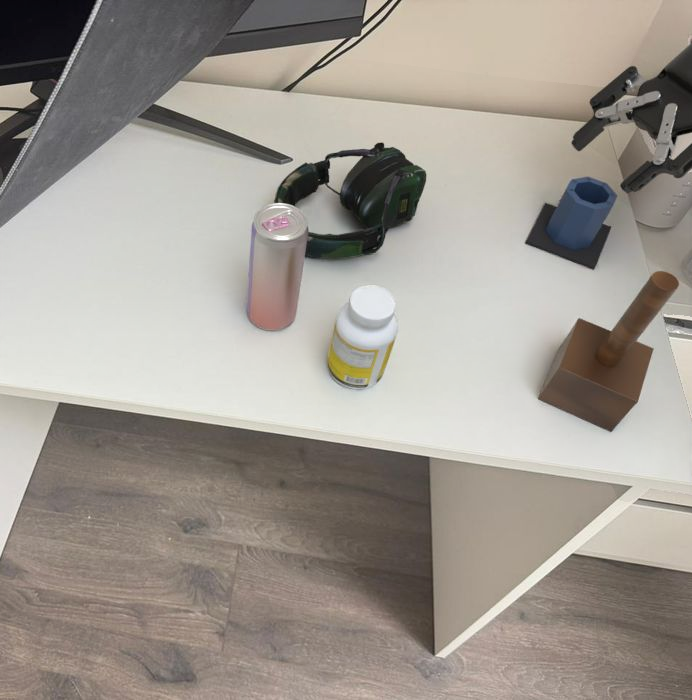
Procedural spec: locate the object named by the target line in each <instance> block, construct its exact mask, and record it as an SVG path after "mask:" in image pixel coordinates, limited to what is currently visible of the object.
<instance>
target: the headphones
mask: <svg viewBox="0 0 692 700" xmlns="http://www.w3.org/2000/svg"><path fill="white" fill-rule="evenodd" d="M346 157H361V158H360V159H359V160H358V161H357V162H356V163H355V164H354V166H353V167H352V168H351V169H350V170H349V172H348V173H347V175H346V176H345V178H344V180H343V181H342V184H341V188H340V191H337V190H336V189H334V188H333V187H331V186H330V185H329V183H330V169H331V161H330V160H331V159H336V158H346ZM426 171H427V170H425V169H423V168H422V167H421V166H419V165H417V164H414V163H413V162H412V161H410V160H409V159H407V157H406V155H405V154H404V152H402V150H400V149H398V148H396V147H394V146H390V147H385V143H384V142H376V143H375V144H374V147H372V148H369V149H367V148H357V149H345V150H339V151H337V152H332V153H328V154H326V155H325V157H324V160H320V161H317V162H314V163H313V162H309V163H308V162H307V161H305V162H304V163H302V164H301V165H299V166H298V167H296V168H295V169H294V170H292V171H291V172H289V173H288V175H286V176H285V177H284V178H283V179H282V181H281V182H280V184H279V185H278V187H277V189H276V192H275V196H274V202H273V204H274V203H285V204H289V205H293V206H295V207H297V206H296V205H297V203H299V202H300V201H301V200H303V199H306V198H307V197H309V196H311V195H312V194H314V193H316V192H317V191H318V190H319V186H322V185H325V186H326V188H327V189H329V190H330V191H332V193H334V194H336V195H338V196H339V203H340V204H341V206H342V208H344V209H345V210H347V211H348V212H351V213H352V214H354V215H355V216H356V217H357V219H358V221H359V222H360V224H361V225H362V226H363V227H364V228H365V229H364V228H360V229H358V230H356V231H351V232H344V233H339V234H333V233H326V234H325V233H324V234H323V233H316V232H311V231H308V239H307V245H306V252H305V256H307V257H311V258H313V259H331V260H332V259H334V260H338V259H339V260H341V259H348V258H353V257H361V256H363V255H364V256H365V255H366V256H368V255H372V254H375V253H377V252H378V251H379V250H380V249H381V248H382V247H383V245H384V242H385V239H386V235H387V232H388V230H389V228H393V227H397V226H400V225H404V224H405V222H410V221H412V220H413V217H414V216H416V212H417V209H418V205H419V202H420V199H421V197H422V194H423V192H424V190H425V186H426V182H427V172H426Z"/></svg>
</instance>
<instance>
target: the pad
mask: <svg viewBox="0 0 692 700" xmlns="http://www.w3.org/2000/svg"><path fill="white" fill-rule="evenodd" d="M556 208H557V205H553V204H550V203H548V202H544V205H542V208H541V211H540V212H539V214H538V216H537V218H536V220H535V222H534V224H533V226H532V229H531V230H530V233H529V234H528V236H527V238H526V240H525V242H524V243H525V244H526V245H529V246H531V247H534V248H536V249H539V250H541V251H545V252H547V253H549V254H552V255H555V256H557V257H560V258H562V259H565V260H568V261H570V262H573V263H575V264H577V265H580V266H583V267H586V268H588V269H591V270H595V269H596V267H597V264H598V262H599V259H600V257H601V254H602V253H603V249H604V247H605V245H606V242H607V239H608V236H609V234H610V232H611V229H612V226H611V225H608V224H605V223H603V224H602V226H601V228H600V229H599V231H598V233H597V234H596V236H595V238H594V239H593V241H592V243H591V244H590V246H589V247H586V248H580V249H574V250H572V249H569V248H567V247H564V246H561V245H559V244H556V243H554V242H553V240H552V239H551V237H550V236H549V235H548V233H547V232H546V228H547V226H548V224H549V221H550V219H551V217H552V216H553V214H554V212H555V210H556Z"/></svg>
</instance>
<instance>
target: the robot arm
mask: <svg viewBox="0 0 692 700" xmlns="http://www.w3.org/2000/svg"><path fill="white" fill-rule="evenodd" d="M637 90H638V91H637ZM635 91H637V95H636V96H635V97H631V98H627V99H623V100H620V99H622V98H623V97H624V96H626V95H627V94H628V93H629V94H630V93H631V94H632V93H634V92H635ZM619 100H620V101H619ZM589 105H590V107H591V109H592V111H593V116H592V117H591V118H590V119H589V120H588V121H587V122H586V123H584V125H583V126H581V127H580V128H579V129H578V130H577V131H575V132H574V134H573V136H572V140H571V145H572V147H573V148H574V149H575V150H576V151H577V152H581V151H583V150H584V149H585V148H586V147H587V146H588V145H589V144H590V143H592V142H593V141H594V140H595V139H596V138H597V137H599V136H600V134H602V133H603V132H605V128H606V127H609V126H614V125H618V124H623V125H626V124H630V123H634V124H635V126H636V127H637V128H638V129H639V130H642V131H645V132H647V134H648V135H649V137H651V139H653V140H654V141H656V146H655V150H654V154H653V157H652V160H651V161H649V160H646V161H645V162H644V163H643V164H642V165H640V166H639V167H638V168H637V169H636V170H635V171H634V172H632V173H631V174H630V175H628V177H626V178H625V179H624V180H622V182H620V185H619V186H620V189H621V190H622V191H623V192H624V193H626V194H627V195H629V194H631V193H632V192H633V193H638V192H640V191H641V190H642V189H643V188H644V187H646V186H647V185H648V184H649V183H650V182H652V181H653V180H655V179H656V178H657V177H658V176H660V175H661V174H667V175H670V176H673V178H675V179H681V178H683V177H684V176H685V175H687V174H688V172H690V171H691V170H692V142H691V143H690V144H689V145H688V146H687V147H686V148H684V150H682V151H681V152H680V153H679V154H678V155H677V156H676V157H675V158H674V159H672V157H673V155H674V153H675V152H676V151H675V150H676V147H677V143H678V139H679V137H680V136H683V135H688V134H692V42H691V43H689V44H688V45H687V46H686V47H685V48H684V49H683V50H682V51H680V52H679V53H678V54H677V55H676V56H675V57H674V58H673V59H672V60H671V61H669V62H668V63H666V65H665V66H664V67H663V68H662V69H661V70H660V72H659V73H658V74H657V75H656V76H654V77H652V78H650V79H646V78H645V77H644V76H642V75H641V74H640V72H639V70H638V68H637V67H636V66H635V65H630V66H628V67H627V68H626V69H625V70H623V71H622V72H620V74H619V75H618V76H616V77H615V78H614V79H613V80H612V81H611V82H609V83H608V84H607V85H606V86H605V87H603V88H602V89H601V90H599V91H598V92H597V93H595V95H593V96H592V97H591V98H590V99H589Z"/></svg>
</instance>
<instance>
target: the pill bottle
mask: <svg viewBox="0 0 692 700" xmlns="http://www.w3.org/2000/svg"><path fill="white" fill-rule="evenodd" d="M396 305H397V302H396V299H395V297H394V295H393V294H392V293H391V292H390V291H389V290H387V288H384V287H382V286H380V285H374V284H365V285H362V286H358V287H357V288H355V289H354V290H353V291H352V292H351V294H350V296H349V300H348V302H347V303H345V304H344V305H343V306H341V308H340V309H339V310H338V312H337V314H336V318H335V322H334V327H333V331H332V337H331V341H330V346H329V351H328V356H327V363H326V364H327V370H328V372H329V374H330V375H331V377H332V378H333V379H334V381H335V382H337V383H338V384H339V385H342V386H343V387H346V388H349V389H354V390H364V389H368V388H371V387H373V386H374V385H377V383H379V382H380V381H381V379H382V378H383V375H384V374H385V371H386V368H387V365H388V362H389V359H390V356H391V354H392V351H393V347H394V344H395V341H396V338H397V335H398V332H399V322H398V317H397V315H396V314H395V312H396V308H397V306H396Z"/></svg>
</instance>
